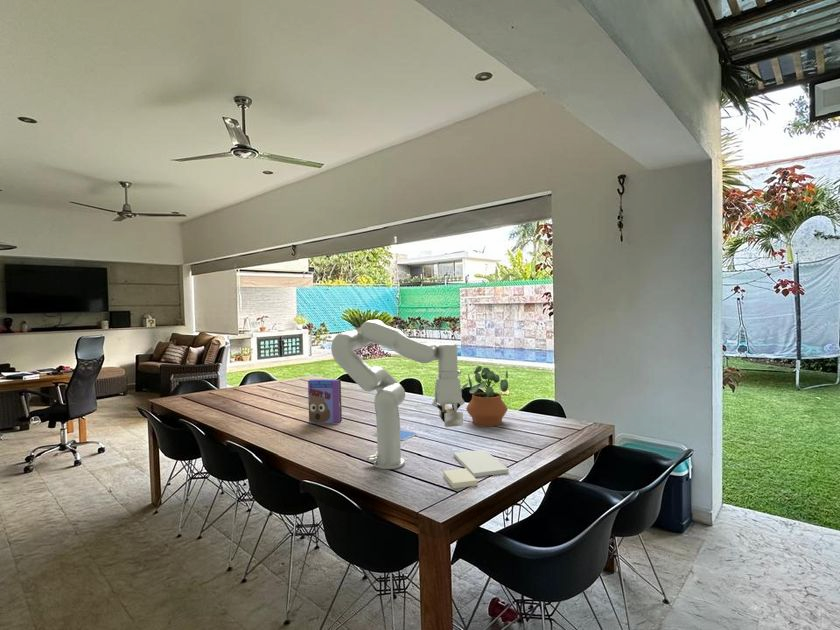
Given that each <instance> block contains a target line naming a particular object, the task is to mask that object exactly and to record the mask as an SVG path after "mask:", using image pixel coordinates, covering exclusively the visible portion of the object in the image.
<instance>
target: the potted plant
mask: <svg viewBox="0 0 840 630" xmlns="http://www.w3.org/2000/svg"><path fill="white" fill-rule="evenodd" d="M480 372H481V373H480ZM501 372H503V373H504V371H501ZM473 373H474V374H473V375H474V379H471V377H470V374H469V373H467V376H468V377H467V378H468V382H466V383H465V384H464V385H463V386H461V391H462V390H465V389H468V385H469V388H470V389H469V393H470V394H472V395H471V396H472V397H471V400H470V401H469V403H468V404H467V405H466V411H467V413H468V415H469V416H470V417H471V421H472V423H473V424H474V425H476V426H480V425H482V426H481V427H495V426H494V425H496V426H499V425H501V424H502V422H503V417H504V416H505V415H506V413H507V412H508V410H509V408H508V406H507V405H506V403H505V402H504V401H503V400H502V399H503V398H502V395H501V394H500V393H498V392H495V391H494V386H495V385H496V384H498V383H499V382H500V391H501V392H503V393H506V392H507V391H508V389H509V382H508V378H509V375H508V370H506V371H505V378H506V379H501V378H500V376H499V374H500V372H499V373H497V374H496V373H495V372H494V371H492V370H490V368H488V367H484V368H483V367H482V366H481V365H478V366H477V367H476V368H475V369H474V371H473ZM482 379H483V380H482ZM472 380H474V381H476V383H477V384H474V385H473V382H472ZM492 381H493V382H494V384H492ZM491 384H492V385H491ZM479 389H482V390H483V391H479Z"/></svg>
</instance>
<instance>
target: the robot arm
mask: <svg viewBox="0 0 840 630" xmlns="http://www.w3.org/2000/svg"><path fill="white" fill-rule="evenodd" d="M372 343H373V344H375V345H378V346H381V347H384V348H386V349H389V350H392V351H393V352H395V353H397V354H399V355H400V356H402V357H404V358H407V359H409V360H412V361H413V362H417V363H420V364H429V363H431V362H434V361H437V363H438V364H437V366H438V367H437V368H438V373H437V374H438V377H436V379H435V385H434V386H435V387H434V399H433V401H432V403H431V405H432V407H435V408H437V409H438V410H439V409H440V410H441V421H442V422H443V423H445V414H444V413H446V412H445V404H447V405H451V408H452V409H453V410H455V411H456V412H458V410H459V408H460V407H461V406H463V405H464V404H466V402H465V400H464V398H463V397H462V396H463V393H462V390H461V388H462V385H461V380H460V377H459V375H462V371H461V370H458V346H457V344H456V343H455V342H442V343H441V342H433V341H432V342H431V341H428V342H425V343H423V342H419V341H417V340H414V339H412V338H409V337H408V336H406V335H405V334H404V333H403V331H402V330H400V329H398V328H395V327H392V326H388V325H387V324H385V322H383V321H382V320H380V319H370V320H367V321H366V320H365V321H364V322H363V323H362V324H361V325H360V326H359V327H357V328H356V329H353V330H348V331H342V332H340V333H337V334H336V335H335V337H334V338H333V340H332V342H331V354H332V357H333V359H334V361H335V363H336V364H337V365H338V366H339V367H340V368H341V369H342V370H343V371H344V372H345V373H346V374H348V376H349V377H350V378H351V379H352V380H353V381H354V382H355V383H356V384H357V385H358V386H359V387H360V388H361V389H362V390H363V391H365V392H367V393H368V392H374V391H376V393H375V395H374V400H373V401H374V409H375V410H374V411H375V417H376V433H377V436H376V443H377V444H376V445H377V447H376V448H377V450H376V451H375V454H373V455H366V456H365V462H370V463H373V466H374V467H375V468H377V469H380V470H394V469H398V468H401V467H403V466H404V465H405V464H406V463H405V462H406V461H405V459H404V458H402V457H401V456H402V455H401V454H402V453H401V452H402V451H401V450H402V449H401V448H402V447H401V440H400V430H401V419H400V418H401V417H400V412H399V406H400V405H401V404H402V403H403V402H404V400H405V398H406V390H405V388H404V387H403V386H402V384H400V382H399V381H398V380H397V379H396V378H394V376H392V375H391V374H390V372H388V371H387V370H386V369H385V368H383V367H381V366H379V365H374V366H370V365H369V364H368V363H367V362H366V361H365V360H364V359H363V358H362V357H360V356H359V355H358V354H356V353H355V352H354V351H357V350H359V349H362V348H364V347H367V346H369V345H370V344H372Z"/></svg>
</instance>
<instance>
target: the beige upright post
mask: <svg viewBox="0 0 840 630" xmlns="http://www.w3.org/2000/svg"><path fill="white" fill-rule="evenodd" d="M438 410H439V418H441V410H440V409H438ZM445 412H446V413H444V414H445V422H444V427H445V428H449V427H460V426H461V427H462V426H464V413H463V411H455V410H453V409H452V406H449V404H445Z"/></svg>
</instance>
